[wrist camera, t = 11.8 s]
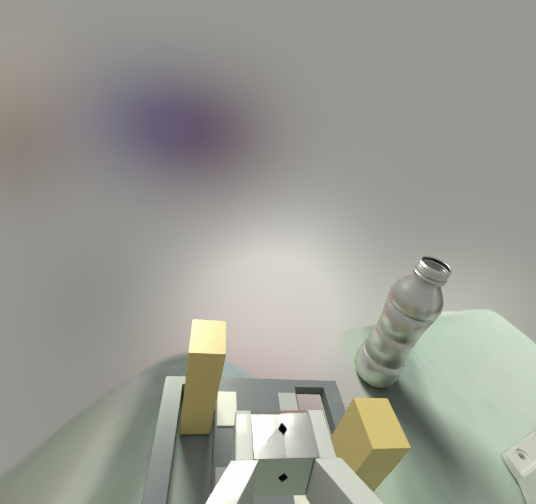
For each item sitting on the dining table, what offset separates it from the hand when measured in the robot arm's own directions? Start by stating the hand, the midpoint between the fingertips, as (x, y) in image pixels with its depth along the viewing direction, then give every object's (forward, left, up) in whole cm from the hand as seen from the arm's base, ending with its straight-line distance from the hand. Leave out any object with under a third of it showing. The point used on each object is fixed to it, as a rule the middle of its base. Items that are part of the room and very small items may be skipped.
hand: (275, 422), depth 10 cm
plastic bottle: (-31, -6, -25) cm, 40 cm away
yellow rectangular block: (-14, +1, -25) cm, 28 cm away
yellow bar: (-6, -13, -25) cm, 29 cm away
